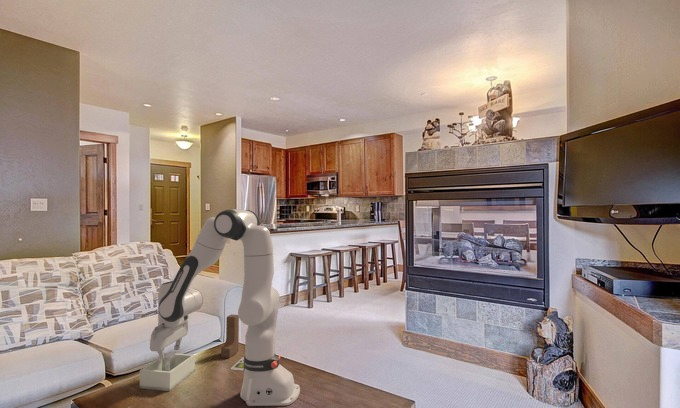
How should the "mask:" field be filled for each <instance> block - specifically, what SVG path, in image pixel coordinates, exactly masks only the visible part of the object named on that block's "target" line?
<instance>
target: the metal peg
mask: <svg viewBox="0 0 680 408" xmlns="http://www.w3.org/2000/svg"><path fill="white" fill-rule="evenodd" d="M165 354H166V357H165V358H164V359H162V371H171V370H172V369H174V368H175V354H176V353H172V352H166V353H165Z"/></svg>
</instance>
